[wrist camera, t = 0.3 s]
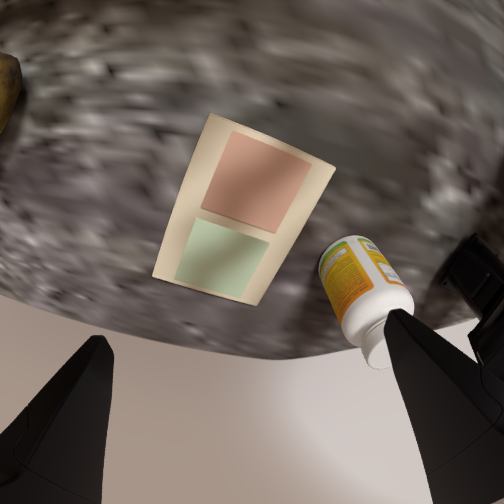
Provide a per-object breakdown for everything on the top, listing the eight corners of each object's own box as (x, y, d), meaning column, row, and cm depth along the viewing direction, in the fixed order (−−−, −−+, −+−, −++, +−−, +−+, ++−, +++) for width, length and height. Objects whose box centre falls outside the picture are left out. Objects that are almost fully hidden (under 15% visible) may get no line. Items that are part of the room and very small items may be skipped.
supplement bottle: (317, 292, 26) (352, 384, 18) (315, 240, 23) (361, 334, 15) (373, 279, 26) (421, 362, 18) (378, 228, 23) (442, 310, 15)
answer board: (333, 166, 20) (336, 168, 19) (255, 302, 26) (256, 307, 25) (210, 112, 17) (209, 114, 17) (153, 272, 23) (151, 277, 23)
